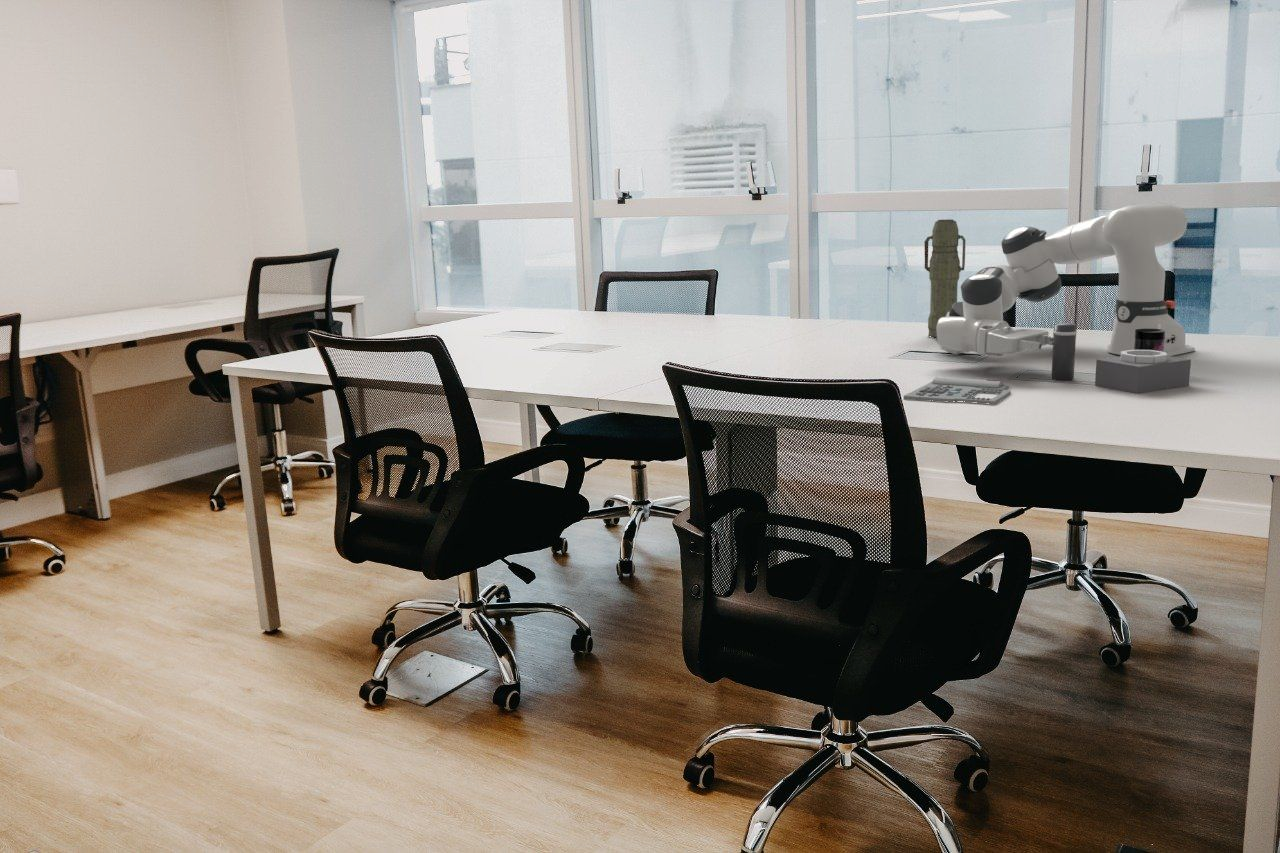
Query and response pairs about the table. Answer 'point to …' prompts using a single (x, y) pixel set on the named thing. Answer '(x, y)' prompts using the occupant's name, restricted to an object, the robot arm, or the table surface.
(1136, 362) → the camera body
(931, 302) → the thermos
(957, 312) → the jar
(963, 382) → the office telephone
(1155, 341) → the supplement container
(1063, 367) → the lens
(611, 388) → the table surface
